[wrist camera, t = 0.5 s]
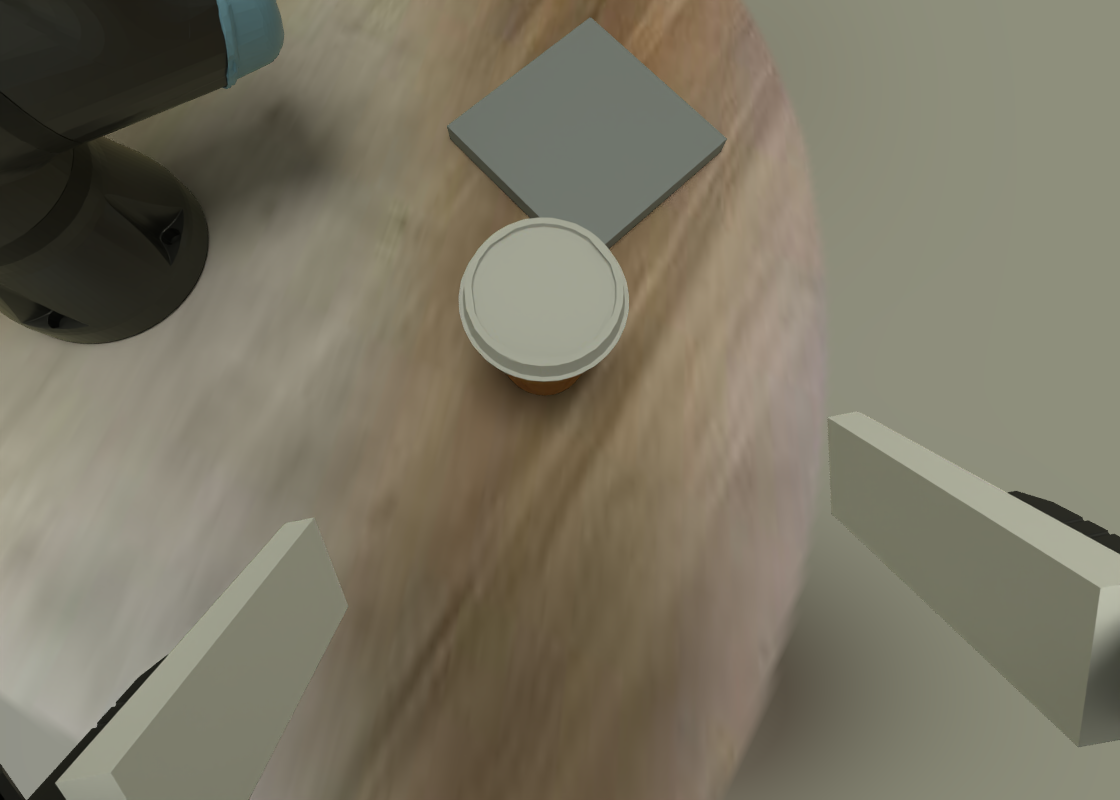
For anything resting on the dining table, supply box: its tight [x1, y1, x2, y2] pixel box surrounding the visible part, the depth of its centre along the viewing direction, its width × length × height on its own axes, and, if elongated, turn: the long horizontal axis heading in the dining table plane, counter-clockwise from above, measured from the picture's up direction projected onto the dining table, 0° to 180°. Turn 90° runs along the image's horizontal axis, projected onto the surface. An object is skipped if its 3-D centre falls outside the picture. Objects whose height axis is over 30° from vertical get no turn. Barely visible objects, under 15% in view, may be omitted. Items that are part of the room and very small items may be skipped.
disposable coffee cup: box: [459, 217, 629, 395], centre depth 34 cm, size 10×10×12 cm
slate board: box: [447, 17, 727, 249], centre depth 43 cm, size 16×16×2 cm
